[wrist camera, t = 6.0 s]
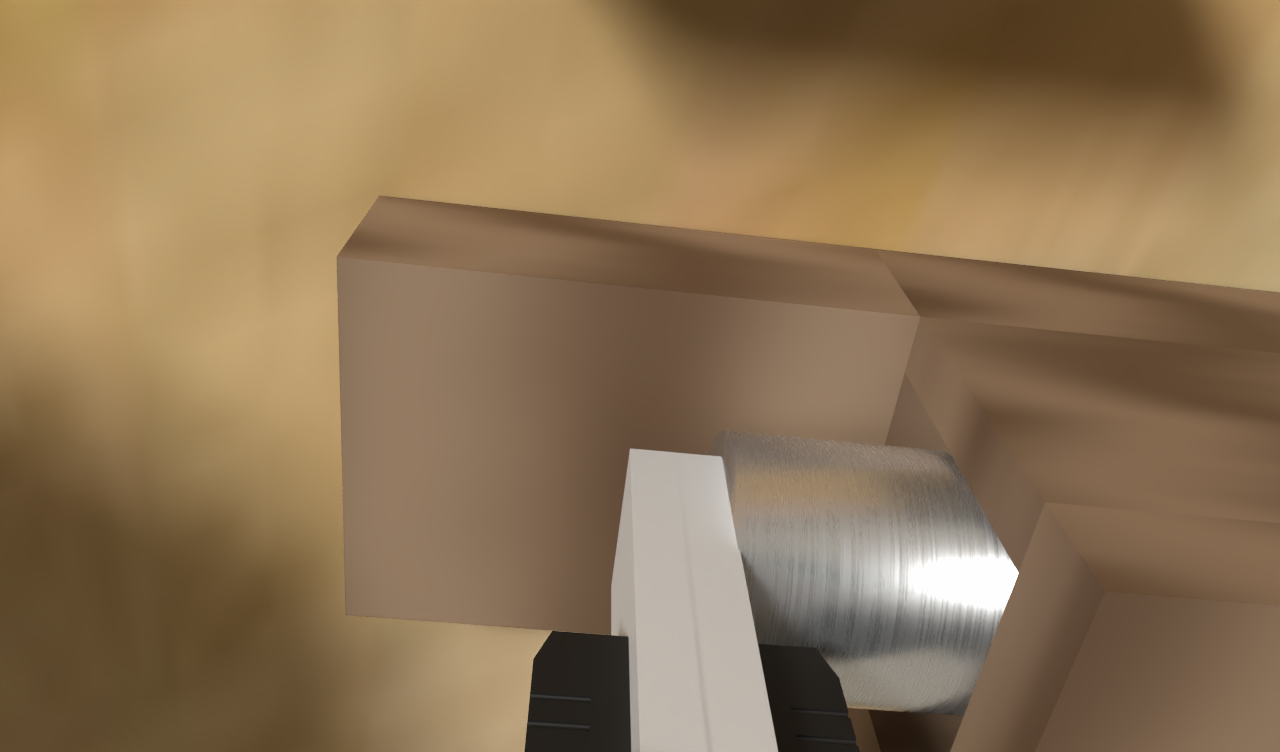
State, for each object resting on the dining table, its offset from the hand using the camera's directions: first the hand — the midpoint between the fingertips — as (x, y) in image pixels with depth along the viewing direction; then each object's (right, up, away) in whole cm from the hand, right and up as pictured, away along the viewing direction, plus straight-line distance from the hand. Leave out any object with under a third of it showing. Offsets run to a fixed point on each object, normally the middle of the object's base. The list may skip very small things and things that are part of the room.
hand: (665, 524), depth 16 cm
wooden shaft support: (+4, +2, +4) cm, 6 cm away
